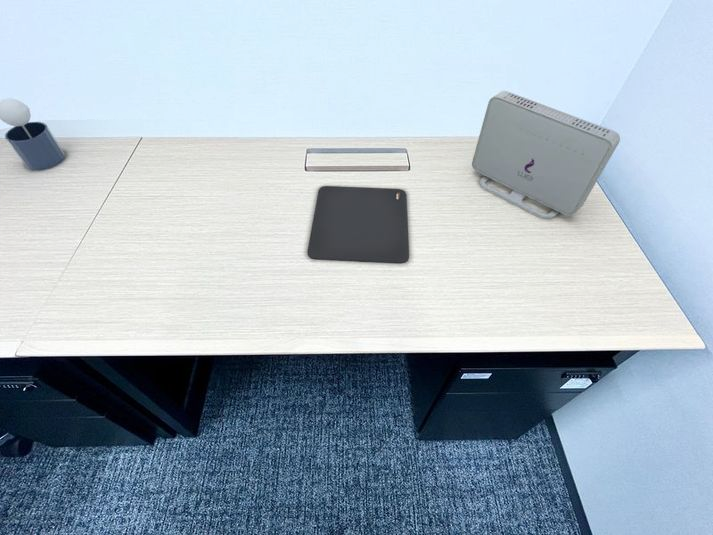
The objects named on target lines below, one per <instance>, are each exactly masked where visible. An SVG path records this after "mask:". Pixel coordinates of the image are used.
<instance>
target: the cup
mask: <svg viewBox="0 0 713 535" xmlns="http://www.w3.org/2000/svg"><path fill="white" fill-rule="evenodd" d="M24 126H25V128H26V129H27V131H28V132H29V134H30V135H31V137H32V138H31V139H30V138H29V136H28V135H27V133H26V132H25V130H24V129H23V127H22V126H12V128H10V129H9V130H8V131H7V132H5V134H4V139H5V140H6V142H7V143H8V144H9V145H10V147H11V148H12V150H13V151H14V153H15V154H16V155H17V157H19V159H20V161H21V162H22V164H24V166H26V168H27V169H28V170H31V171H36V172H38V171H45V170H50V169H52V168H55V167H57V166H58V165H60V164H61V163H63V161H64V160H65V158H66V153H65V152H64V150H63V149H62V147H61V146H60V144H59V142H58V141H57V139H56V137H55V136H54V134H53V132H52V131H51V130H50V128H49V126H48V125H47V124H46V123H44V122H41V121H29V122H28V123H27V124H25V125H24Z"/></svg>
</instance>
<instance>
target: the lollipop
mask: <svg viewBox="0 0 713 535" xmlns="http://www.w3.org/2000/svg"><path fill="white" fill-rule="evenodd" d="M31 116H32V115H31V111H30V108H29V106H28V105H27V104H25V103H24V102H22V101H21V100H19V99H17V98H12V97H7V98H3V99H0V120H1V121H2V122H4V123H5V124H6V125H9V126H11V127H15V126H22V127H23V129H24V130H25V132H26V133H27V135H28V136H29V138H30V139H31V138H32V137H31V135H30V134H29V132H28V131H27V129H26V128H25V126H24V125H25V124H27V123H28V122H30V120H31Z"/></svg>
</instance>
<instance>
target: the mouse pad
mask: <svg viewBox="0 0 713 535" xmlns="http://www.w3.org/2000/svg"><path fill="white" fill-rule="evenodd" d="M313 213H314V214H313V219H312V224H311V228H310V229H311V230H310V235H309V241H308V246H307V255H308V257H309V258H310V259H312V260H323V261H339V262H340V261H345V262H364V263H384V264H385V263H386V264H405V263H407V262H408V261H409V257H410V252H409V251H410V249H409V248H410V246H409V226H408V225H409V224H408V202H407V192H406V191H405V190H404V189H401V188H388V187H387V188H385V187H365V186H363V187H362V186H338V185H336V186H335V185H324V186H321V187H319V189H318V191H317V196H316V202H315V206H314V212H313Z"/></svg>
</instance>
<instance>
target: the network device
mask: <svg viewBox="0 0 713 535" xmlns="http://www.w3.org/2000/svg"><path fill="white" fill-rule="evenodd" d="M620 142H621V135H620V134H619V133H618V132H617V131H615V130H612V129H610V128H607V127H604V126H602V125H598V124H596V123H594V122H591V121H588V120H585V119H584V118H580V117H577V116H574V115H572V114H570V113H566V112H565V111H561V110H559V109H556V108H554V107H550V106H548V105H545V104H542V103H540V102H537V101H535V100H532V99H529V98H526V97H524V96H521V95H518V94H516V93H514V92H510V91H508V90H502V91H500V92H499V93H497V94H496V95H494V96H492V97H491V98H490V99H489V100H488V102H487V106H486V110H485V114H484V118H483V121H482V125H481V128H480V132H479V136H478V139H477V142H476V146H475V150H474V154H473V158H472V161H471V168H472V169H473V170H474V171H475V172H477V173H479V174H480V175H481V174H482V175H483V176H482V177H481V178H480V181H479V184H480V186H481V188H482V189H483V190H485V191H486V192H489V193H491V194H493V195H495V196H497V197H499V198H501V199H503V200H504V201H507V202H508V203H511V204H513V205H514V206H517V207H518V208H520V209H522V210H524V211H526V212H528V213H529V214H532V215H534V216H536V217H538V218H541V219H545V220H547V219H548V220H549V219H554V218H556V217H557V215H558V214H559V213H561V214H563V215H565V216H566V217H567V216H568V217H571V216H574V215H576V214H577V212H578V211H579V210H580V209H581V208H583V206H584V204H585V202H586V201H587V199H588V197H589V196H590V194H591V192H592V190H593V188H594V187H595V185H596V183H597V182H598V180H599V178H600V176H602V173H603V171H604V169H605V168H606V166H607V164H608V163H609V161H610V159H611V158H612V156H613V154H614V152H615V150H616V149H617V147H618V146H619V144H620ZM490 179H491V180H493V181H495V182H497V183H500V184H501V185H502V186H503V185H504V186H506V187H508V188H509V189H512V191H511V192H510V193H508V194H507V193H503V192H502V191H499V190H497V189H496V188H493V187H491V186H489V185H488V184H486V183H487V182H488V181H489V180H490ZM527 197H528V198H530V199H532V200H534V201H536V202H538V203H540V204H542V205H544V206H546V207H549V209H552V210H551V211H550V213H544V212H542V211H539V210H537V209H536V208H533V207H532V206H529V205H527V204H526V203H524V202H523V201H524V200H525V198H527Z"/></svg>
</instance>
